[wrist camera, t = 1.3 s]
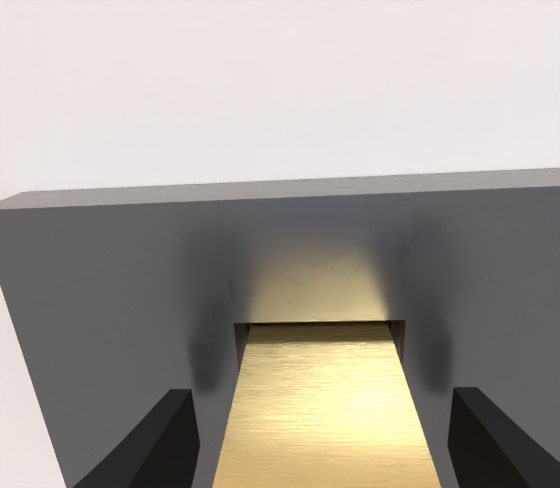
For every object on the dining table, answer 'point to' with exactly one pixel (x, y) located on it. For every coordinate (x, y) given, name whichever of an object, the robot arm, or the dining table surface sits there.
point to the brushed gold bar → (323, 411)
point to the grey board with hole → (282, 295)
